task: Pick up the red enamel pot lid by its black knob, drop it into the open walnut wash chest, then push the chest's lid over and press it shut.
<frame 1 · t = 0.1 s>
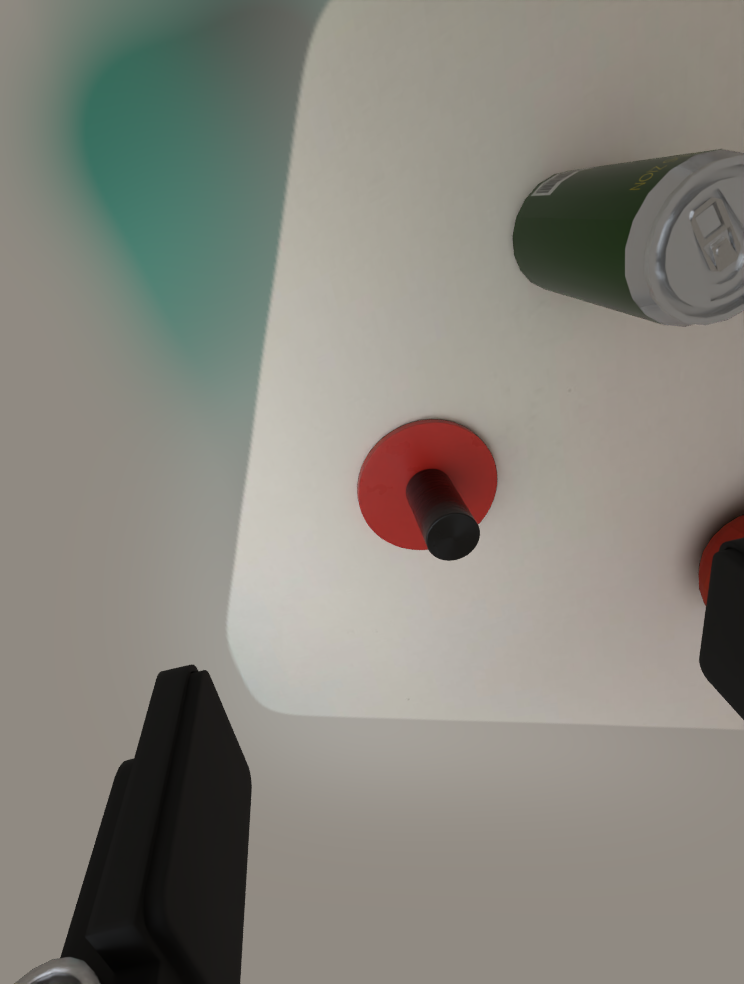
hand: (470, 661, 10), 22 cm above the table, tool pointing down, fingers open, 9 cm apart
pot lid: (426, 485, 34), on the table
fruit: (734, 544, 39), on the table
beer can: (556, 232, 29), on the table
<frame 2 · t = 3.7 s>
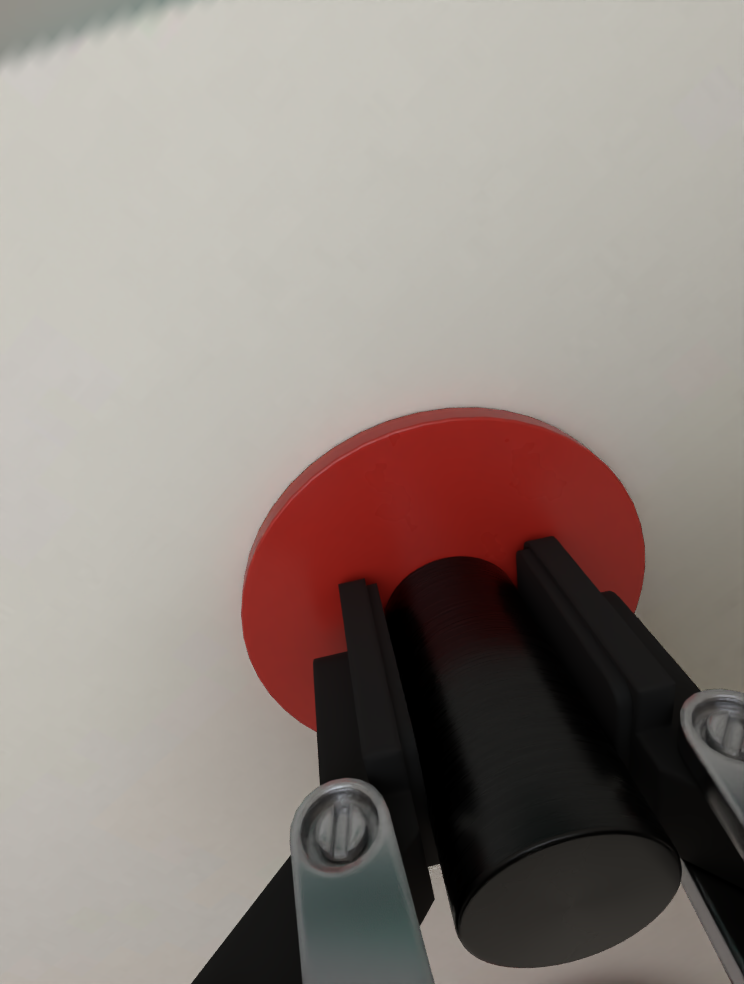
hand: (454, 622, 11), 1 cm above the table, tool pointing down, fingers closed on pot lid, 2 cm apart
pot lid: (443, 595, 12), on the table, touching gripper
when the fingers open (7 cm above the table, at t = 11.0 s): pot lid drops 5 cm, resting on chest.
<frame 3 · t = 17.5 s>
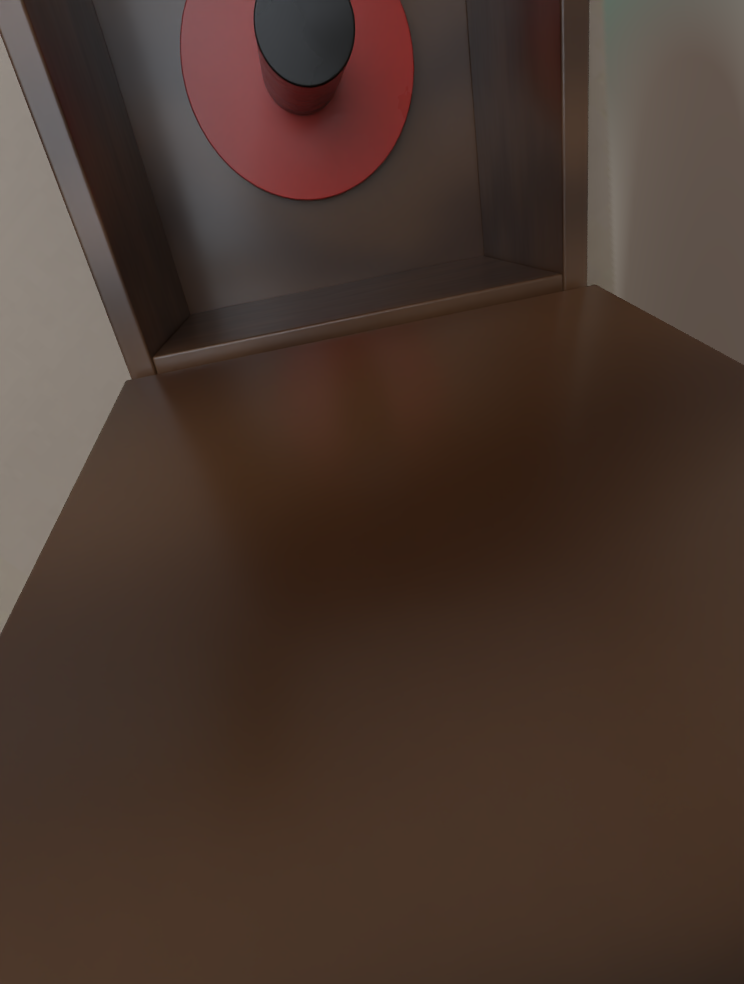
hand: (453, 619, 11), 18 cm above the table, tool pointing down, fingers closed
pot lid: (300, 73, 21), point 1 cm above the table, touching chest
chest: (298, 78, 22), on the table
chest lid: (439, 509, 10), point 18 cm above the table, hinge at 97.9°, touching gripper
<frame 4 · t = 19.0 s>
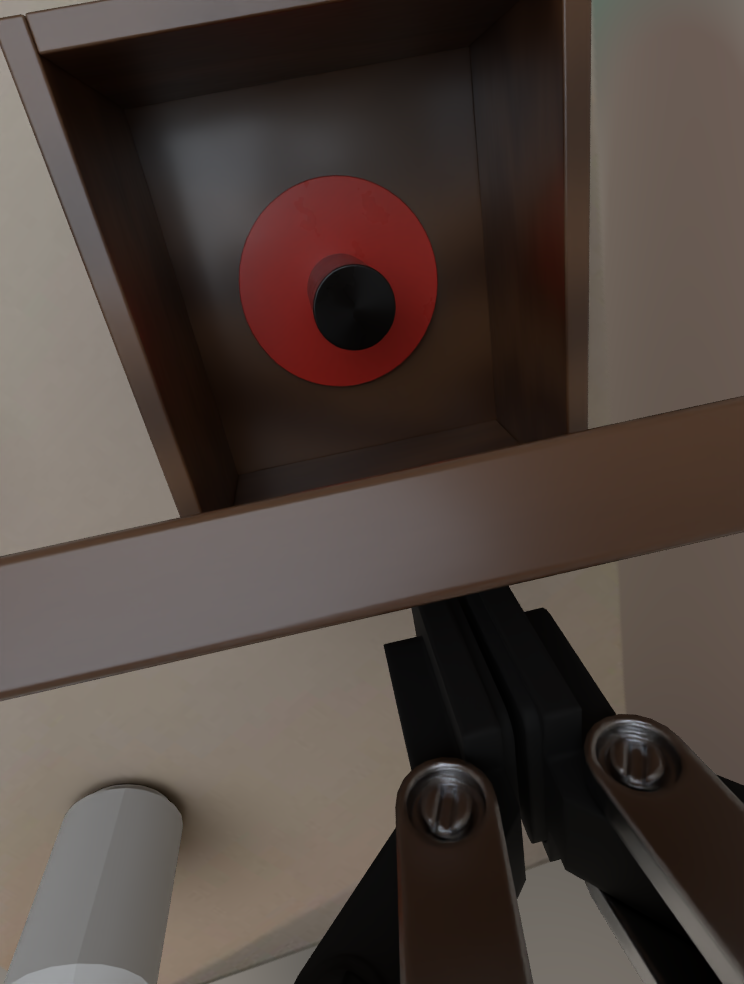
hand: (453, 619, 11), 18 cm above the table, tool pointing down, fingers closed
pot lid: (339, 287, 24), point 1 cm above the table, touching chest
can: (128, 810, 38), on the table
chest: (337, 286, 25), on the table
chest lid: (432, 543, 12), point 16 cm above the table, hinge at 55.8°
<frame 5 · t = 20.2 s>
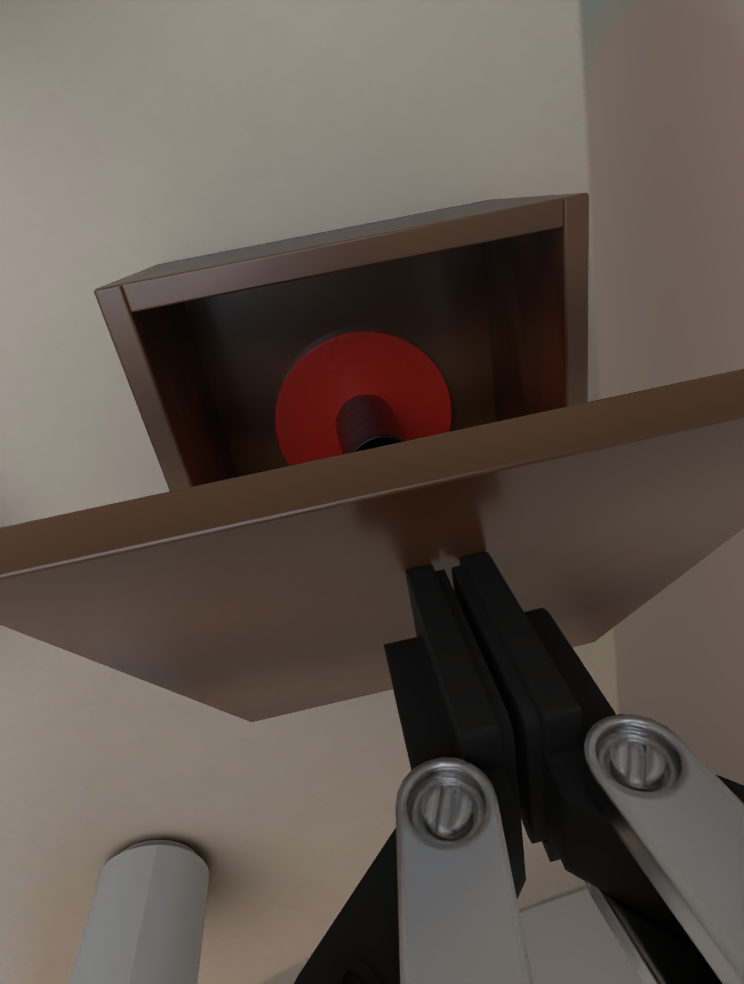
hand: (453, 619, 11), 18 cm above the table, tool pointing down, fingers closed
pot lid: (363, 418, 27), point 1 cm above the table, touching chest
can: (158, 862, 41), on the table
chest: (360, 414, 28), on the table
chest lid: (430, 616, 16), point 14 cm above the table, hinge at 35.2°, touching gripper
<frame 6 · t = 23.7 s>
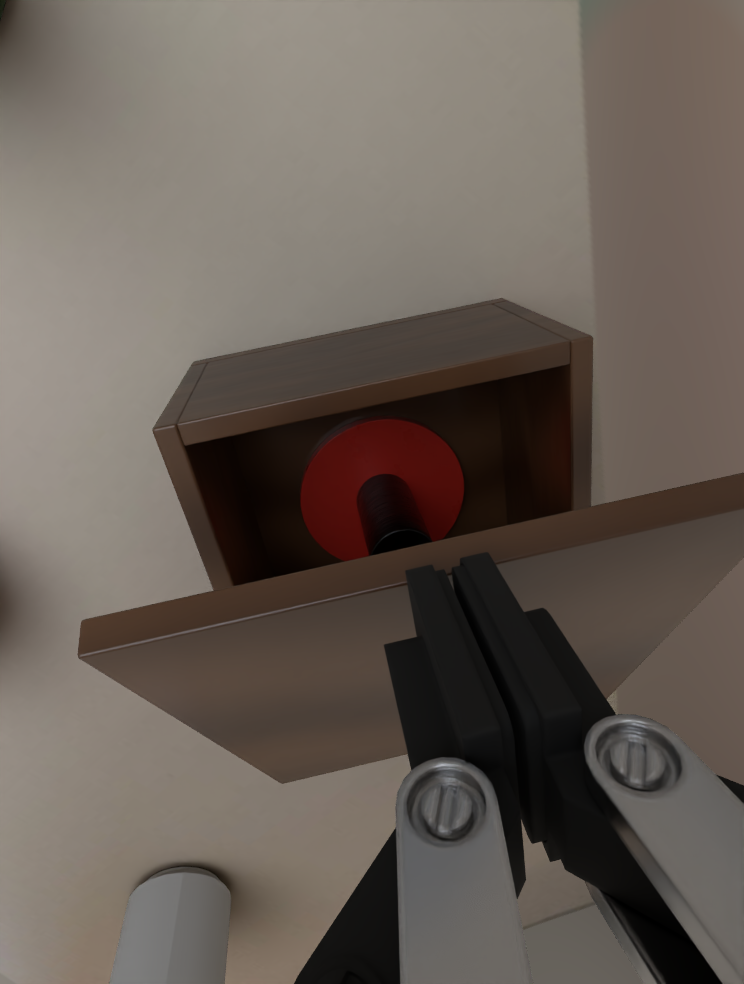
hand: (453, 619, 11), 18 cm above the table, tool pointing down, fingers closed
pot lid: (381, 493, 29), point 1 cm above the table, touching chest
can: (182, 887, 43), on the table
chest: (379, 486, 30), on the table
chest lid: (441, 681, 18), point 13 cm above the table, hinge at 27.4°
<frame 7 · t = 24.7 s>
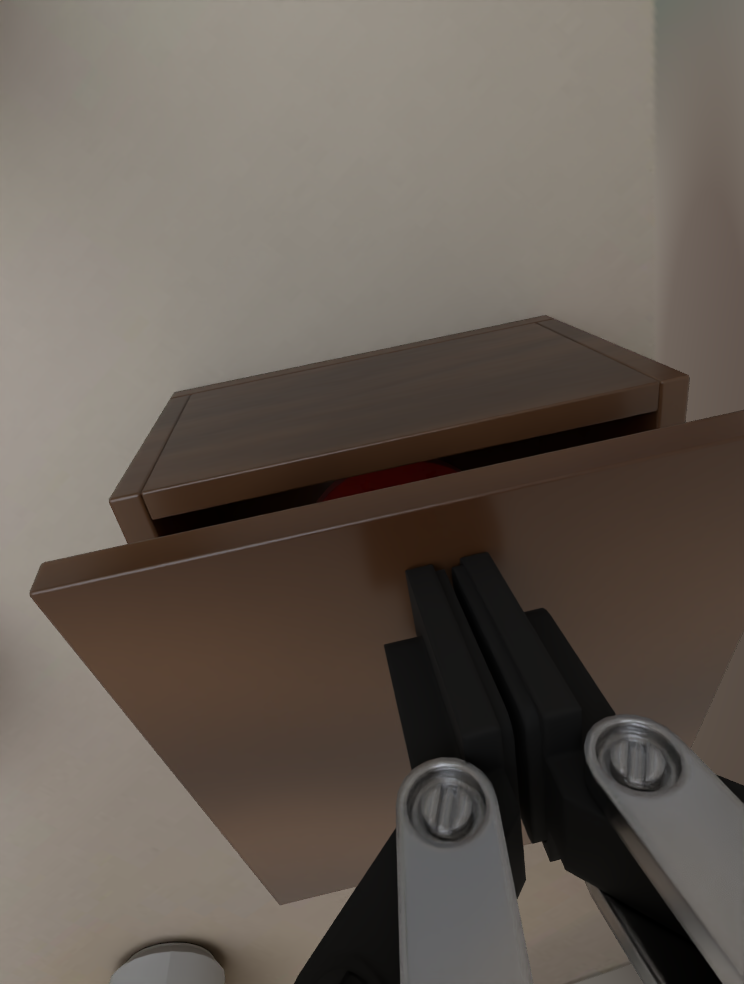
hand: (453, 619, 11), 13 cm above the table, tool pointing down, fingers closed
pot lid: (399, 542, 25), point 1 cm above the table, touching chest
can: (171, 962, 39), on the table
chest: (395, 534, 25), on the table
chest lid: (461, 730, 16), point 11 cm above the table, hinge at 11.1°, touching gripper
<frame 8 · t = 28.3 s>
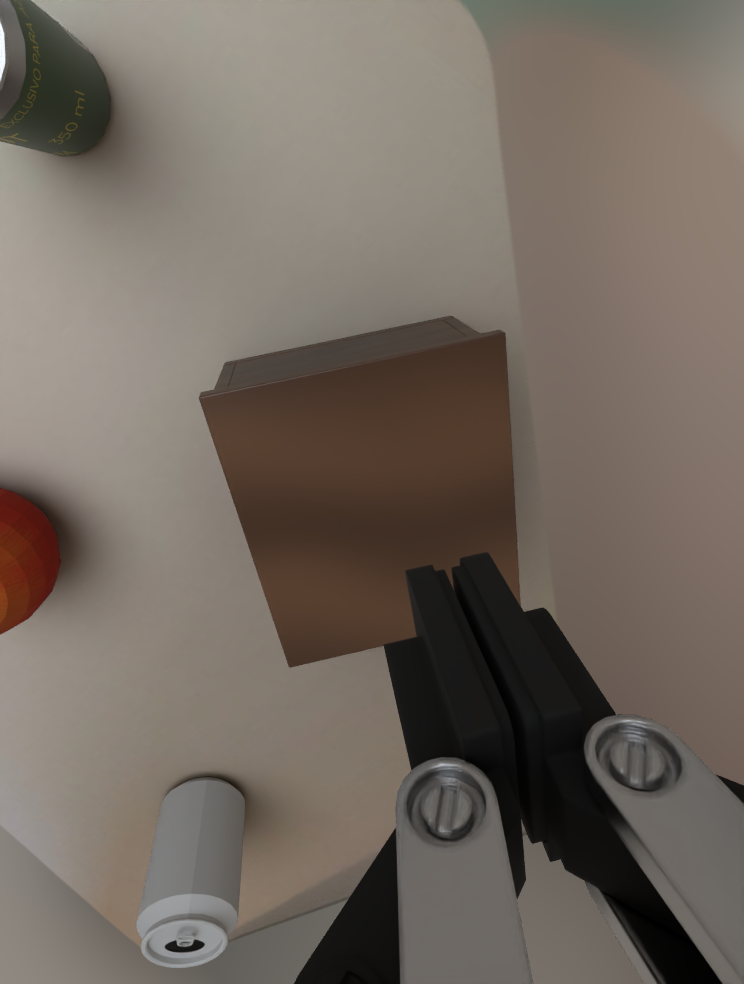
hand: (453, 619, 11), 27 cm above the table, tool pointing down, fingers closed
can: (205, 796, 52), on the table
fruit: (2, 524, 38), on the table
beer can: (58, 95, 28), on the table
chest: (362, 457, 39), on the table
chest lid: (382, 518, 31), point 9 cm above the table, hinge at 1.0°
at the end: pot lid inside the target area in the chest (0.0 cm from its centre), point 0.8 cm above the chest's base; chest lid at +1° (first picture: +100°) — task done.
